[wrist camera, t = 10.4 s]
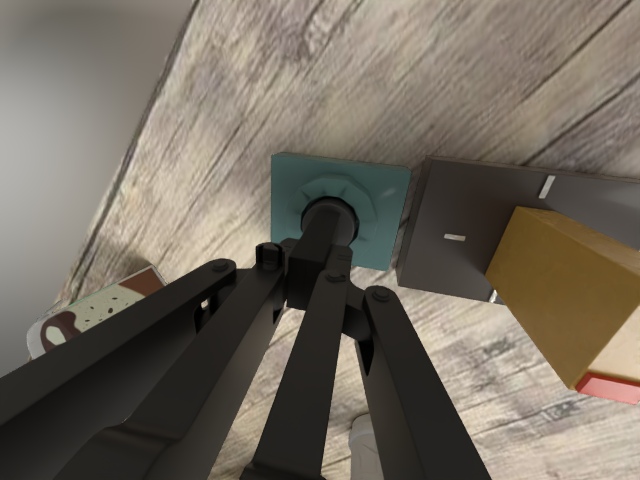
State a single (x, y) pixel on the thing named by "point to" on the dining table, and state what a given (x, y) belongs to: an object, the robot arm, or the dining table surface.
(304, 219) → the bell button
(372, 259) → the push button box
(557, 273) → the lock knob
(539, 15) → the dining table surface
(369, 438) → the mug
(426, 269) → the lock plate
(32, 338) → the food container
